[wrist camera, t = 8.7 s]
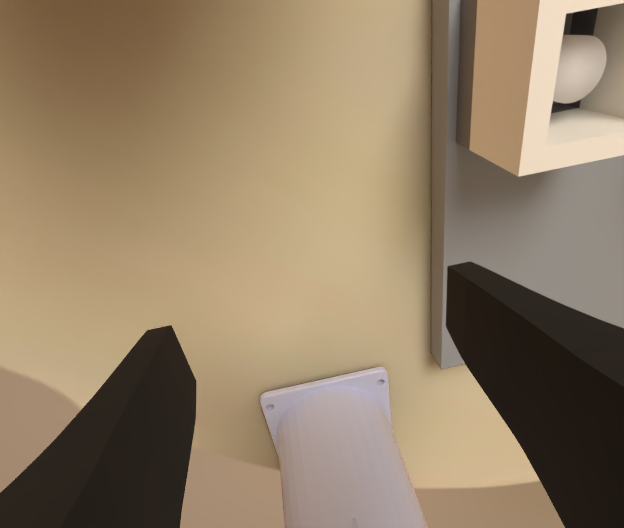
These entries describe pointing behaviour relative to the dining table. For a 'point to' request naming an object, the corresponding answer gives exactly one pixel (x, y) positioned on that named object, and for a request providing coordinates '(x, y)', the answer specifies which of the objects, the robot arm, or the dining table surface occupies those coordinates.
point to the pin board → (523, 200)
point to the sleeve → (536, 84)
